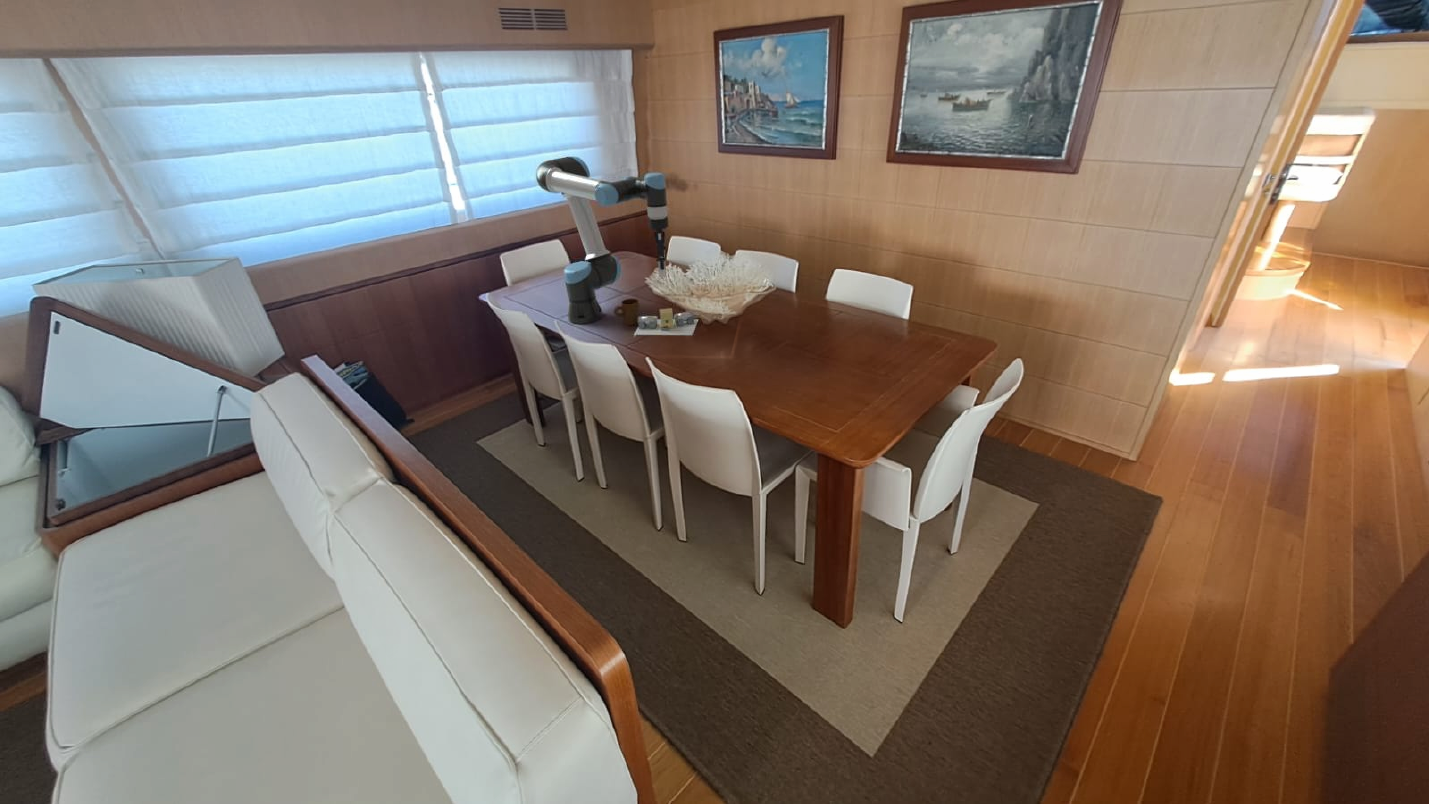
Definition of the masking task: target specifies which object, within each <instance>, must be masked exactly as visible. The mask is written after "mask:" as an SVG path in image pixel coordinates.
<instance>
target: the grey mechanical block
mask: <svg viewBox="0 0 1429 804" xmlns="http://www.w3.org/2000/svg"><path fill="white" fill-rule="evenodd" d="M637 325H638V327H639V329H645V328H646V326H647V325H649V327H650V329H656V327H657V325H658V315H641V316H638V324H637Z"/></svg>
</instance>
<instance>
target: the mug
mask: <svg viewBox="0 0 1429 804" xmlns="http://www.w3.org/2000/svg"><path fill="white" fill-rule="evenodd" d="M620 303H621V305H617V306H616V307H614V309H613V314H614V315H615V316H616V318H622V319H623V324H624V325H625V326H637V325H638V316H642V315H641V314H642V313H641V307H640V301H639V299H636V298H627V299H623V300H622V301H621V302H620ZM619 310H620V311H621V312H618V311H619Z"/></svg>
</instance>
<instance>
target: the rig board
mask: <svg viewBox="0 0 1429 804" xmlns="http://www.w3.org/2000/svg"><path fill="white" fill-rule="evenodd" d="M698 321H699V318H698V319H697V318H696V319H695V318H694V324H690V325H688V324H687V323H686V322H685V321H684V326H680V327H678V326H677V325H676V324H675V320H674V318H673V323H674V329H669V328H662V327H661V318H659V319H658V325H657V327H656V329H650V327H649V325H647V326H646V328H645V329H639V326H638V327H637V328H636V330H635V332H634V334H633V338H635V337H636V336H639V335H640V336H693V335H694V331H695V329H696V327H697V324H698Z"/></svg>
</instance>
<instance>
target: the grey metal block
mask: <svg viewBox="0 0 1429 804" xmlns="http://www.w3.org/2000/svg"><path fill="white" fill-rule="evenodd" d="M673 314H674V313H673ZM673 319H674V320H675V324H676V325H677V326H678V327H680V326H684V321H685V322H686V323H687V324H688V325H690V324H694V319H695V314H694V312H693V311H692V310H690V311H684V312H679V313H675V314H674V315H673Z"/></svg>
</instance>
